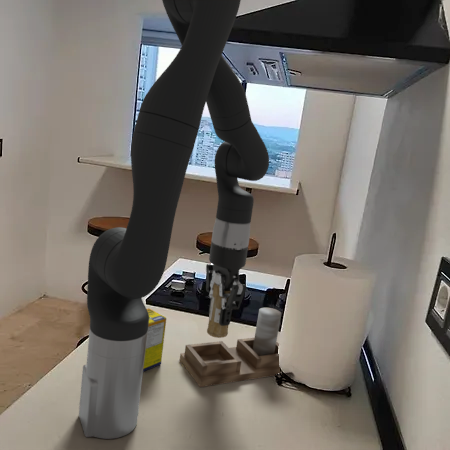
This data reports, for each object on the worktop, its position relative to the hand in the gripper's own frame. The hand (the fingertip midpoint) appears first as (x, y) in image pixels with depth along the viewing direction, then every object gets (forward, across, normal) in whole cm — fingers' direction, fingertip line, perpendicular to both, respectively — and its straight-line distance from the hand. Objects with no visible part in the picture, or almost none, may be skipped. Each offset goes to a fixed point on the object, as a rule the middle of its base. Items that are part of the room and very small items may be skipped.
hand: (219, 319), depth 97 cm
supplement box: (+12, -6, -14) cm, 19 cm away
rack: (+12, 0, +6) cm, 13 cm away
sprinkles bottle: (+3, 0, 0) cm, 3 cm away
